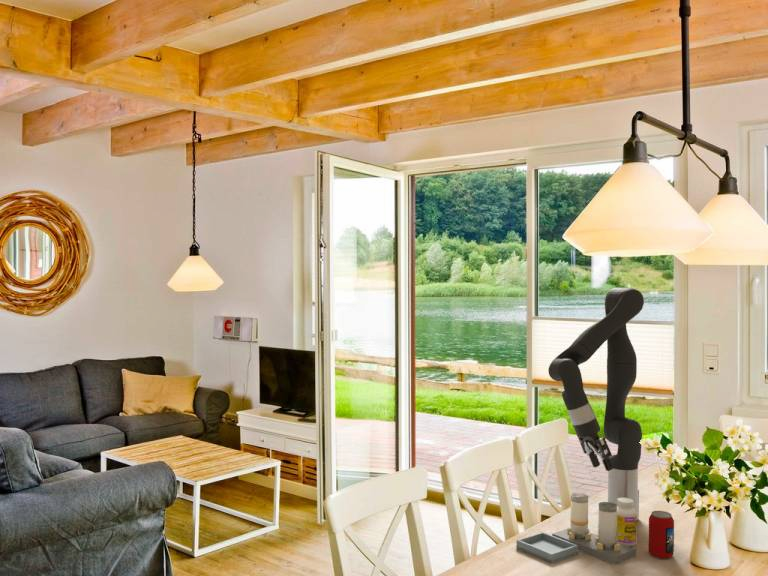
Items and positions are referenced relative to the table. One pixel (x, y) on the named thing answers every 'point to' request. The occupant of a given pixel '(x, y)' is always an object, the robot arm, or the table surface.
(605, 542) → the cylinder
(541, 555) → the tray
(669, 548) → the beverage can
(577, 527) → the marked fuse
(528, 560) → the table surface
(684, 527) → the table surface
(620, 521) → the supplement bottle
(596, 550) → the block
